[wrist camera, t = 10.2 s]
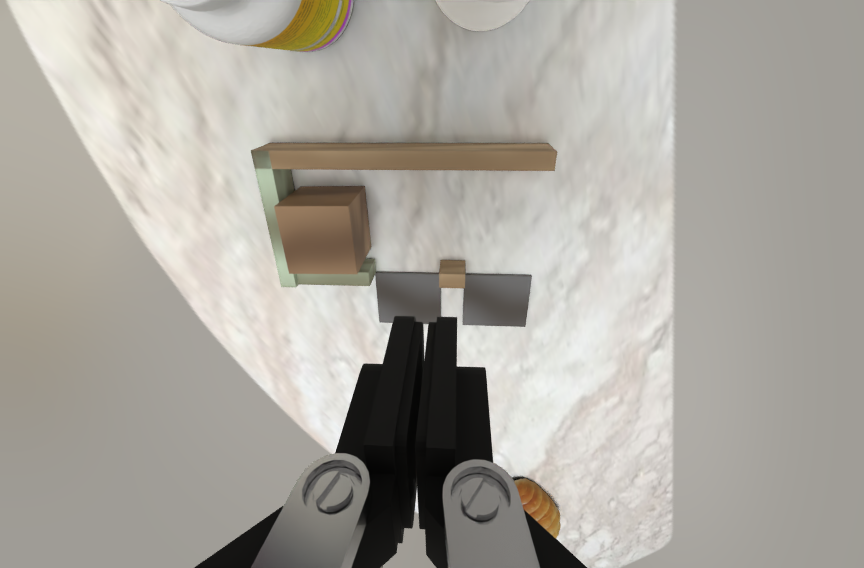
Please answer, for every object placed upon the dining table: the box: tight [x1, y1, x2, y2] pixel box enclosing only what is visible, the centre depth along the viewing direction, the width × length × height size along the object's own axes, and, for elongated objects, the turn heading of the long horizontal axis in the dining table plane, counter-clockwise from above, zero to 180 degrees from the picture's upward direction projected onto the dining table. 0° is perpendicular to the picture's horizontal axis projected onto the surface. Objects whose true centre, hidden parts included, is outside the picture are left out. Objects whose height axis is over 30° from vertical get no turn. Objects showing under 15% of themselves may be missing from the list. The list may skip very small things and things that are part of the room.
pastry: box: [514, 478, 560, 539], centre depth 46 cm, size 9×7×4 cm
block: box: [274, 186, 371, 274], centre depth 29 cm, size 5×5×5 cm
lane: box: [251, 143, 557, 327], centre depth 31 cm, size 15×20×3 cm
